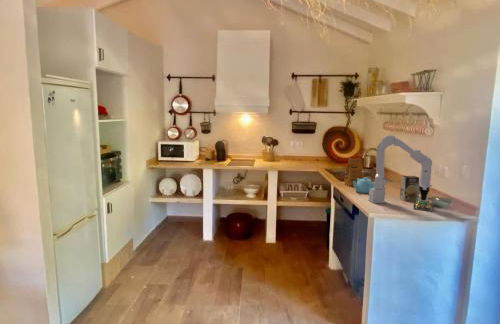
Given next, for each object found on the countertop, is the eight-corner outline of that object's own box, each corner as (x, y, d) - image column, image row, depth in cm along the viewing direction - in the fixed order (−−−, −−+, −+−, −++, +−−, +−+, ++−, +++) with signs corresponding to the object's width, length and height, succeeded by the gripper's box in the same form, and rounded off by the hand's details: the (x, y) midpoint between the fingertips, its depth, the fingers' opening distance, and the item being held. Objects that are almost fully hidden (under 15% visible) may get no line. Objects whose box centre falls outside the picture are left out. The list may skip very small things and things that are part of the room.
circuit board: (429, 205, 197) (430, 198, 196) (416, 203, 200) (416, 197, 200) (428, 201, 206) (429, 195, 205) (416, 199, 209) (416, 193, 208)
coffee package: (343, 183, 270) (344, 157, 267) (357, 183, 271) (359, 157, 268) (347, 186, 260) (349, 159, 257) (362, 186, 261) (364, 159, 258)
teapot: (350, 192, 242) (351, 177, 240) (356, 188, 254) (357, 174, 253) (372, 195, 234) (373, 180, 232) (377, 191, 246) (378, 177, 244)
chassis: (432, 211, 195) (432, 204, 195) (413, 209, 200) (414, 202, 199) (431, 206, 207) (431, 199, 206) (413, 204, 211) (414, 197, 211)
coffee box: (403, 201, 219) (405, 177, 217) (399, 198, 225) (401, 175, 223) (417, 201, 219) (419, 177, 217) (412, 198, 226) (414, 175, 223)
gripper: (433, 180, 192) (431, 202, 194) (432, 176, 205) (430, 197, 207) (419, 179, 196) (417, 201, 198) (419, 175, 208) (417, 195, 210)
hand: (423, 199), depth 203 cm, fingers closed on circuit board, 4 cm apart
